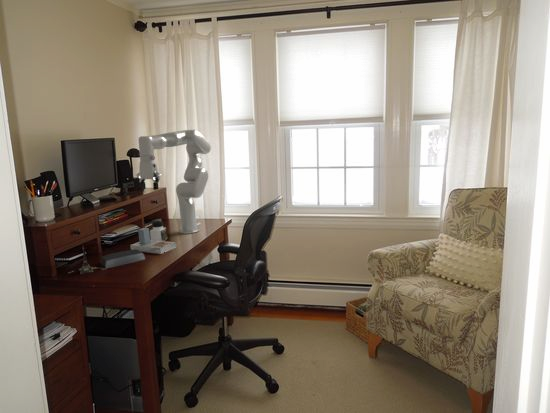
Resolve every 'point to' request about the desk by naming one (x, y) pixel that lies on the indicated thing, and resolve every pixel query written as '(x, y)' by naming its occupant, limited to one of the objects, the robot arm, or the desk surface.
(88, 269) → the eiffel tower figurine
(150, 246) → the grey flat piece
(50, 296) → the desk surface
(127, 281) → the desk surface
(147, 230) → the peg
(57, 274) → the desk surface
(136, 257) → the external hard drive
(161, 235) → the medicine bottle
